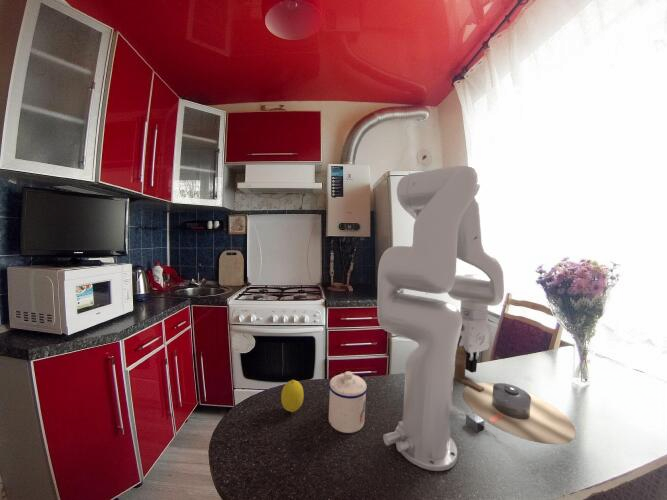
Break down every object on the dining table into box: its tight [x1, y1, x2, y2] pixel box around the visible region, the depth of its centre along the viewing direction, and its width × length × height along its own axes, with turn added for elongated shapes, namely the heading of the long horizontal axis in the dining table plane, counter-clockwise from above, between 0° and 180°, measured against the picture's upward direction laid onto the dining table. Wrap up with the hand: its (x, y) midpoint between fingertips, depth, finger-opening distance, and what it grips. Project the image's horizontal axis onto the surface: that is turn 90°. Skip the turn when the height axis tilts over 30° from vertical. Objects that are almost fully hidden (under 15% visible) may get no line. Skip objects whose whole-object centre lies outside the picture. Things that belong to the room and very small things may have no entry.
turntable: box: [453, 344, 577, 445], centre depth 67 cm, size 25×29×12 cm
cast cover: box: [492, 382, 531, 420], centre depth 65 cm, size 8×8×6 cm
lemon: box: [280, 379, 305, 413], centre depth 62 cm, size 6×6×8 cm
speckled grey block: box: [465, 411, 485, 434], centre depth 60 cm, size 2×3×2 cm
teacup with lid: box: [328, 370, 368, 434], centre depth 62 cm, size 12×9×12 cm
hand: (469, 370), depth 81 cm, fingers closed
